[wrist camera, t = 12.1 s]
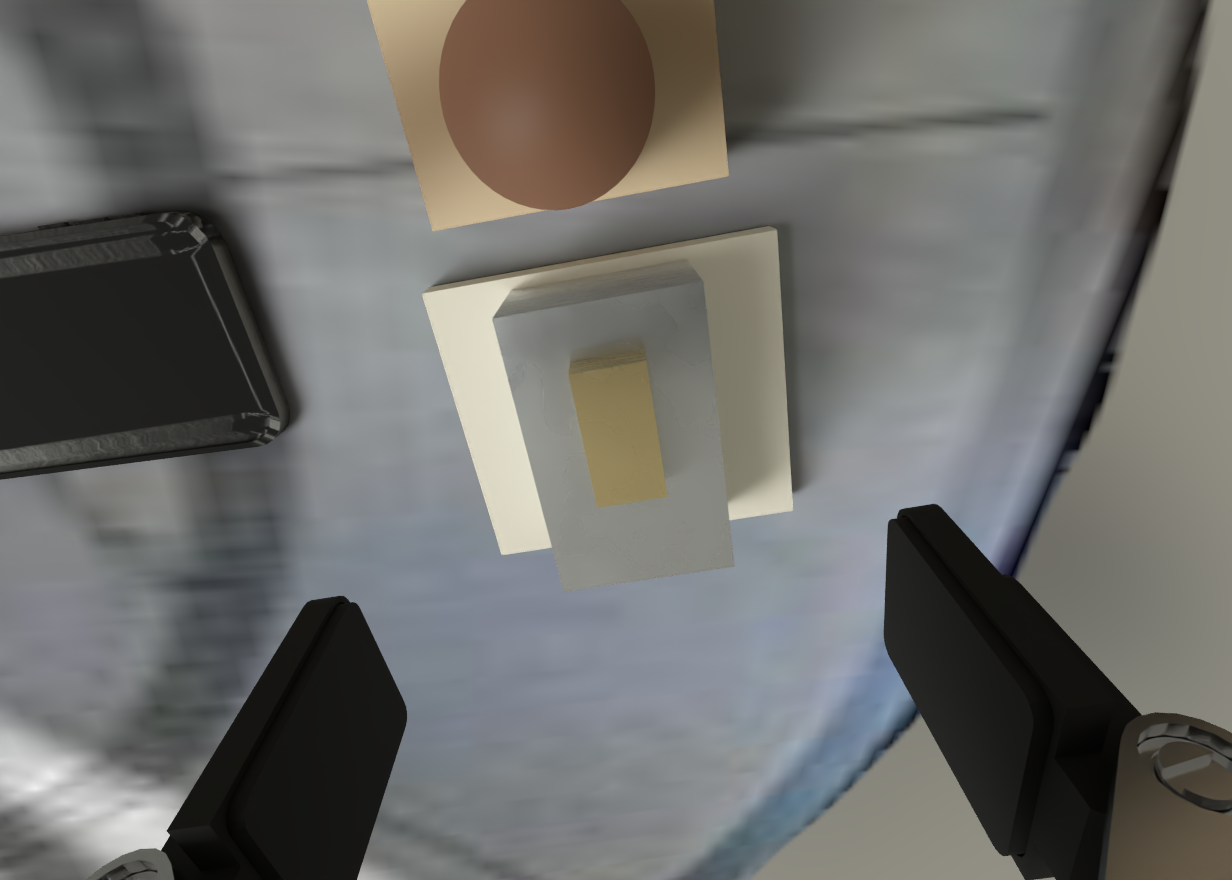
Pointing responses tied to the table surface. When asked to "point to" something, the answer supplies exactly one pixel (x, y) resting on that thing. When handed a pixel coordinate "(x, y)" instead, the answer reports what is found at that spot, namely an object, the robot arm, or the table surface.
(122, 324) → the phone
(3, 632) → the table surface
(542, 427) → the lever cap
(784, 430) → the felt mat
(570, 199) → the body
